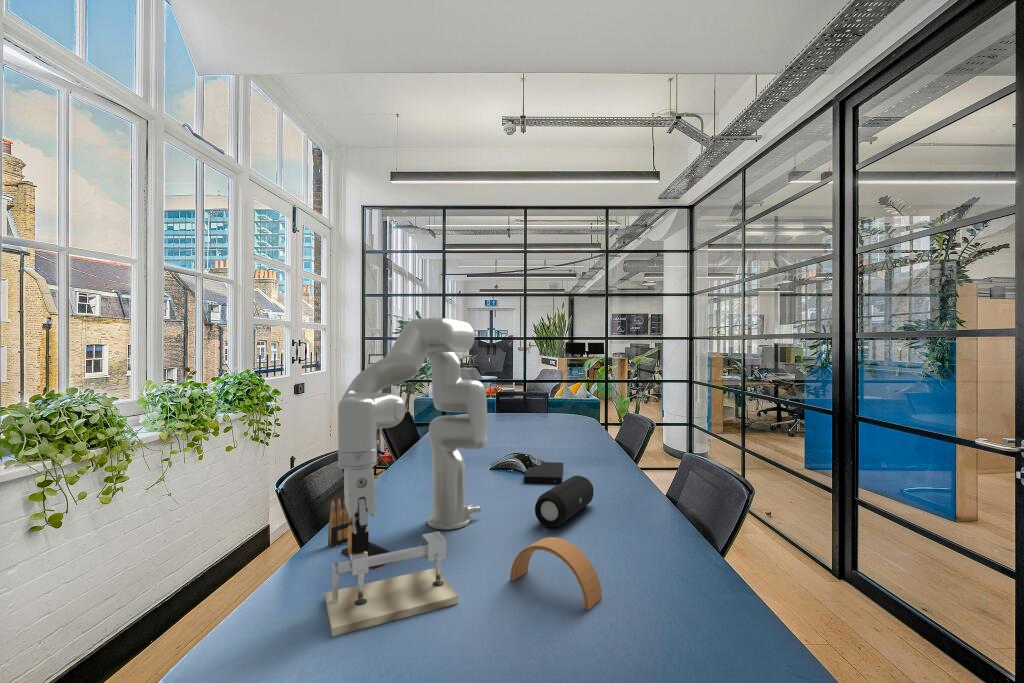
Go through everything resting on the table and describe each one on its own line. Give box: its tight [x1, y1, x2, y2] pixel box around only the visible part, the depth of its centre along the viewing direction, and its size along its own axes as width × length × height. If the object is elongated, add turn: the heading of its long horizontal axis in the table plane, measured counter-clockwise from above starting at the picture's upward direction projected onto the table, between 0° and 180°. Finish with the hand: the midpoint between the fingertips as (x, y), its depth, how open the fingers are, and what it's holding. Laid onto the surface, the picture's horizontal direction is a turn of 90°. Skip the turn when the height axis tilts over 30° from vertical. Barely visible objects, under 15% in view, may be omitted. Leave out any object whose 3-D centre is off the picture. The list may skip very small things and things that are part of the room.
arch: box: [509, 536, 603, 611], centre depth 102 cm, size 6×20×10 cm, turn 51°
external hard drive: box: [523, 461, 564, 486], centre depth 191 cm, size 14×23×3 cm, turn 172°
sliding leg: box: [347, 523, 369, 600], centre depth 97 cm, size 4×5×14 cm
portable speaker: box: [534, 475, 594, 528], centre depth 146 cm, size 26×10×10 cm, turn 149°
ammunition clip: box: [327, 497, 351, 548], centre depth 129 cm, size 11×2×12 cm, turn 135°
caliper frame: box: [331, 531, 447, 603], centre depth 100 cm, size 23×6×9 cm, turn 116°
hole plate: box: [324, 567, 459, 637], centre depth 98 cm, size 24×14×2 cm, turn 116°
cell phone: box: [341, 541, 391, 570], centre depth 119 cm, size 8×15×1 cm, turn 49°
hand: (358, 546), depth 97 cm, fingers closed on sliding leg, 4 cm apart
